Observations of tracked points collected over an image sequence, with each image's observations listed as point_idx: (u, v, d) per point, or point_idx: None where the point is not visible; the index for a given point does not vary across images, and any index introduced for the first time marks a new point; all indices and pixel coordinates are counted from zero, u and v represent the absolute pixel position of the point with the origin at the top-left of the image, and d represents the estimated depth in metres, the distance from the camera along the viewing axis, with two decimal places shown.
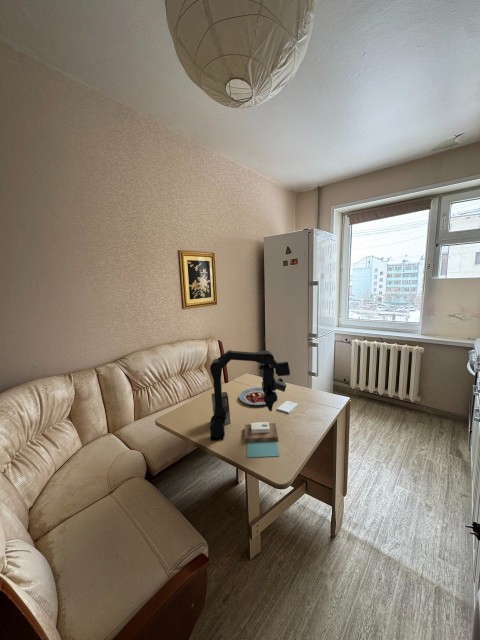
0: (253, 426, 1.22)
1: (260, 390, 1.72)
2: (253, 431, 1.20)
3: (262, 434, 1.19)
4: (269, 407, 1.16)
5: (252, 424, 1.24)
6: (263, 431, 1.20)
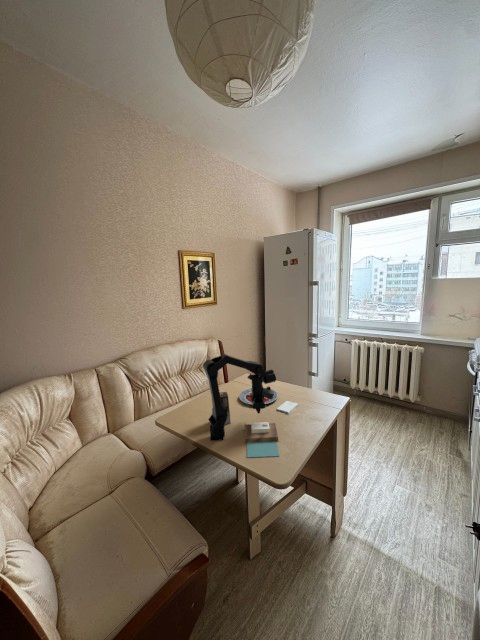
0: (253, 426, 1.22)
1: None
2: (253, 431, 1.20)
3: (262, 434, 1.19)
4: (257, 410, 1.30)
5: (252, 424, 1.24)
6: (263, 431, 1.20)
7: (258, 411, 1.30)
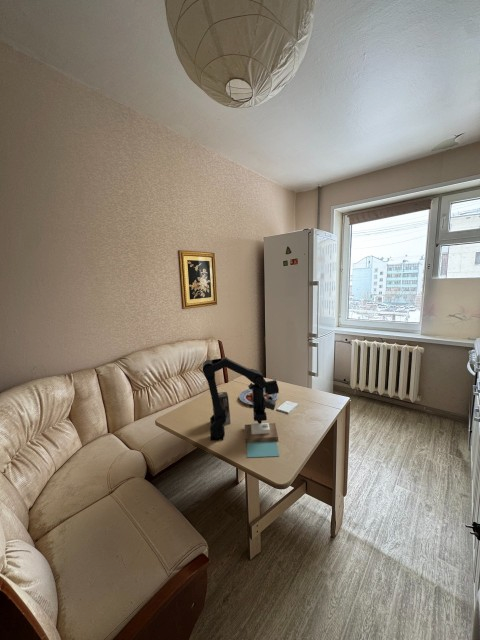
0: (253, 427, 1.21)
1: None
2: (253, 432, 1.19)
3: (262, 434, 1.19)
4: (258, 421, 1.25)
5: (252, 425, 1.24)
6: (263, 432, 1.19)
7: (259, 422, 1.25)
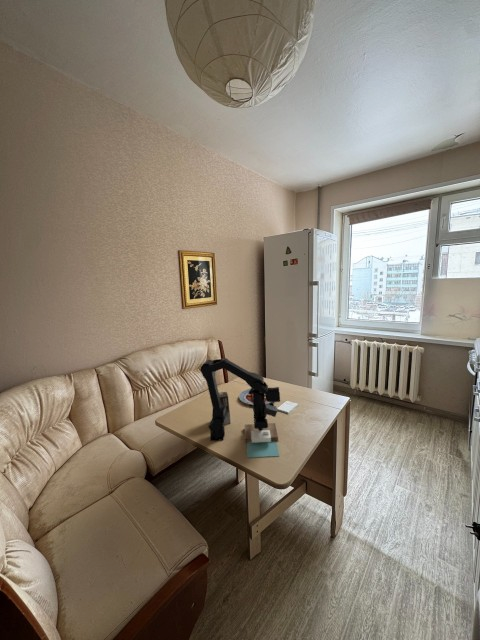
0: (253, 435, 1.15)
1: None
2: (253, 440, 1.13)
3: None
4: (259, 428, 1.18)
5: (252, 432, 1.17)
6: (264, 440, 1.13)
7: (260, 429, 1.19)
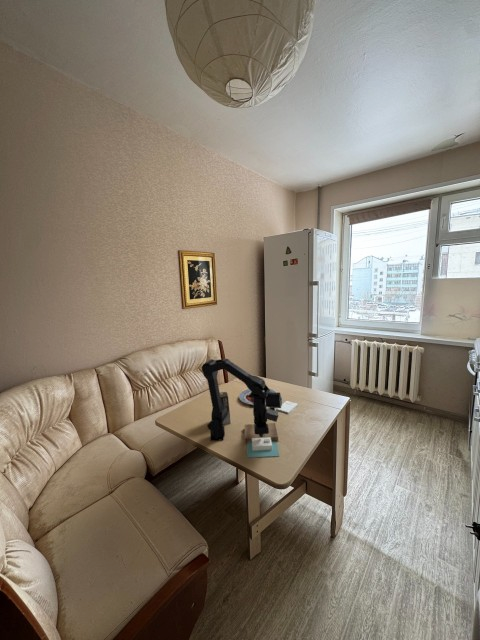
0: (253, 443, 1.12)
1: None
2: (254, 448, 1.10)
3: None
4: (260, 433, 1.14)
5: (253, 440, 1.15)
6: (265, 448, 1.10)
7: (261, 435, 1.14)
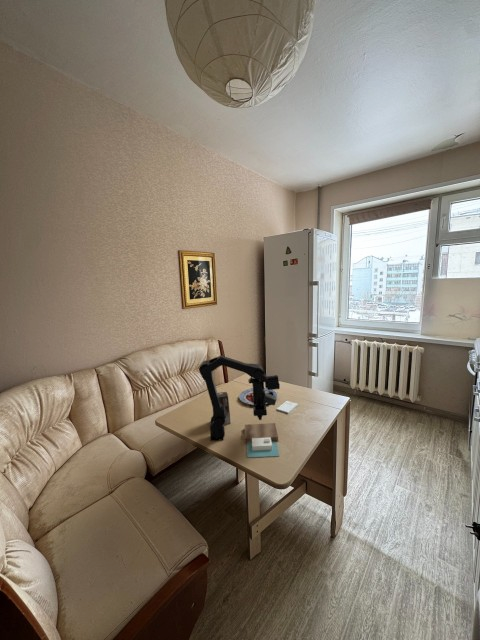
0: (253, 443, 1.12)
1: None
2: (254, 448, 1.10)
3: (262, 434, 1.19)
4: (259, 416, 1.21)
5: (253, 440, 1.15)
6: (265, 448, 1.10)
7: (260, 418, 1.21)
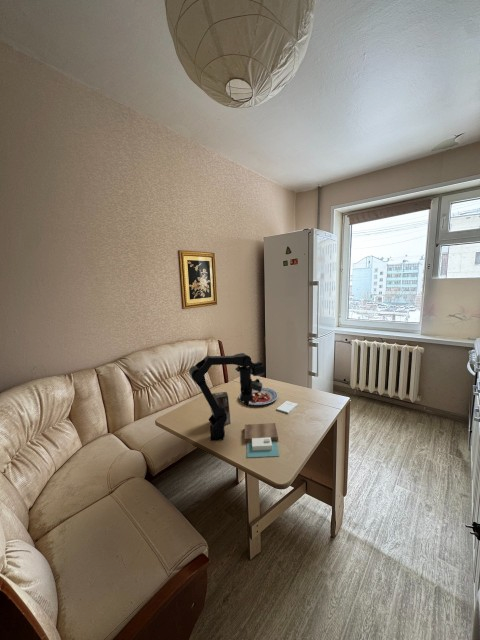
0: (253, 443, 1.12)
1: None
2: (254, 448, 1.10)
3: (262, 434, 1.19)
4: (246, 402, 1.27)
5: (253, 440, 1.15)
6: (265, 448, 1.10)
7: (246, 404, 1.27)
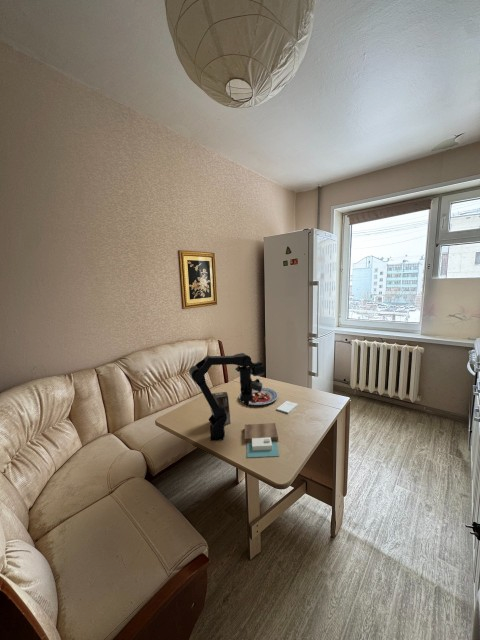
0: (253, 443, 1.12)
1: None
2: (254, 448, 1.10)
3: (262, 434, 1.19)
4: (246, 402, 1.27)
5: (253, 440, 1.15)
6: (265, 448, 1.10)
7: (246, 404, 1.27)
